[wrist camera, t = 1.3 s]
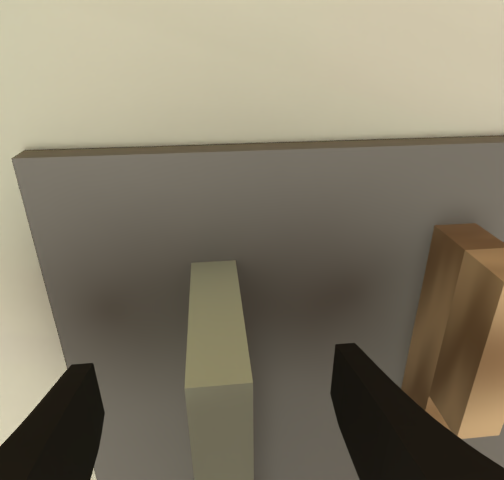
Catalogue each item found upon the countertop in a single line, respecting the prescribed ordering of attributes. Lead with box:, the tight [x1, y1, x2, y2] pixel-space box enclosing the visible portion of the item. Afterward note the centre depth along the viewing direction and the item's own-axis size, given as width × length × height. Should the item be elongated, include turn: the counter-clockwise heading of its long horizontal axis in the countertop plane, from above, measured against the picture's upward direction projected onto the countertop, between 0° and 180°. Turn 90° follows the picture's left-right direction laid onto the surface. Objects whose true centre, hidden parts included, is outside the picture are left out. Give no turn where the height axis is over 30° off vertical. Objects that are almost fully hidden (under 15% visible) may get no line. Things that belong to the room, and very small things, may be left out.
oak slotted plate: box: [401, 223, 504, 439], centre depth 17 cm, size 16×2×4 cm, turn 1°
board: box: [12, 136, 504, 480], centre depth 19 cm, size 22×23×1 cm
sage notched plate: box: [184, 260, 254, 480], centre depth 15 cm, size 14×2×6 cm, turn 0°
